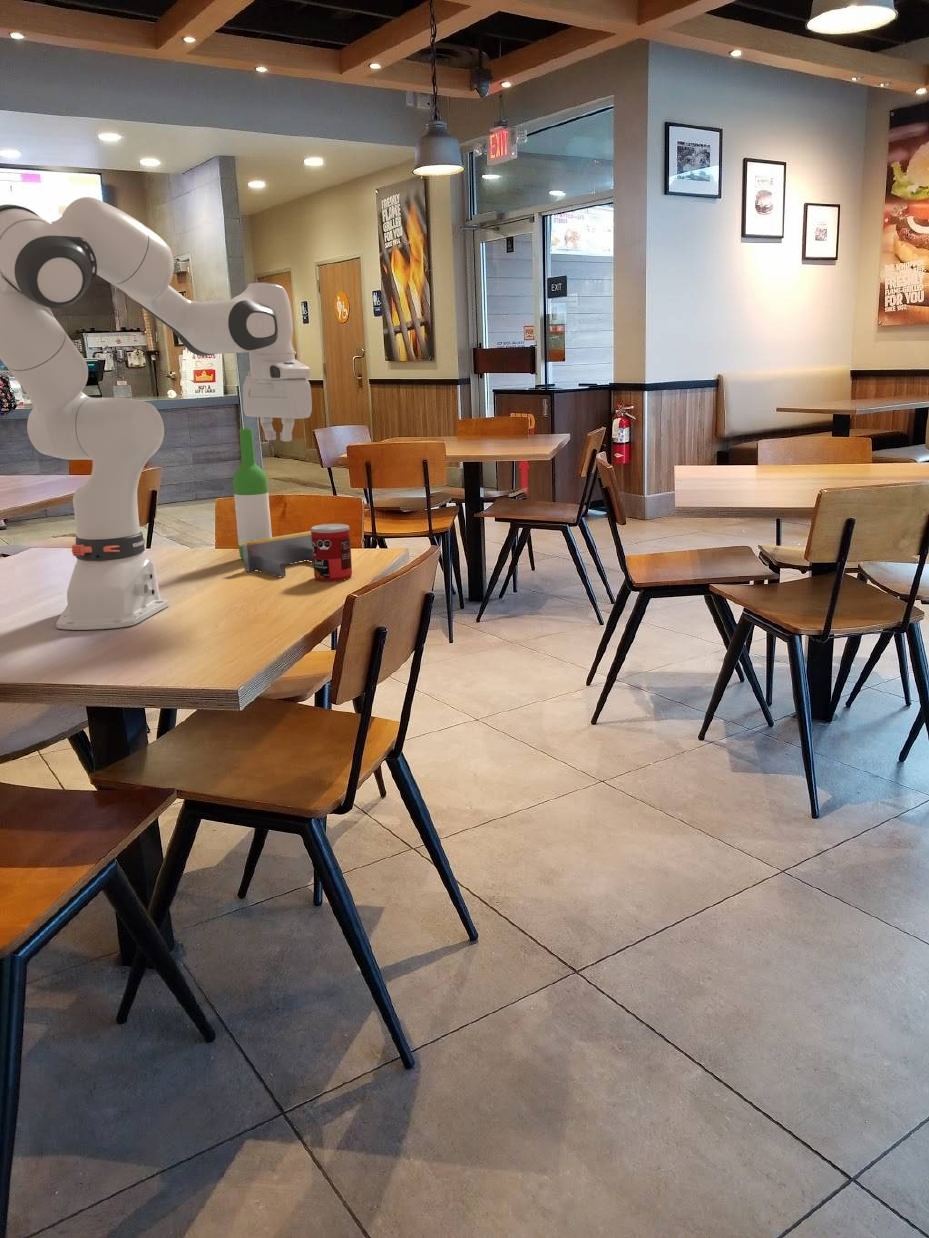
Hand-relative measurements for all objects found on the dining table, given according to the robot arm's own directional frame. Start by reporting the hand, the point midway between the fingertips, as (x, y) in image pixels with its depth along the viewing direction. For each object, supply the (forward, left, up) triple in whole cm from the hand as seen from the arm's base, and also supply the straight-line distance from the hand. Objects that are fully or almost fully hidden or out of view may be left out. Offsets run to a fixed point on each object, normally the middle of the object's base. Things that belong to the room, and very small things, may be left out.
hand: (278, 440), depth 192 cm
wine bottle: (+26, +11, -29) cm, 41 cm away
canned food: (+2, -9, -29) cm, 31 cm away
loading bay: (+14, +1, -29) cm, 32 cm away
